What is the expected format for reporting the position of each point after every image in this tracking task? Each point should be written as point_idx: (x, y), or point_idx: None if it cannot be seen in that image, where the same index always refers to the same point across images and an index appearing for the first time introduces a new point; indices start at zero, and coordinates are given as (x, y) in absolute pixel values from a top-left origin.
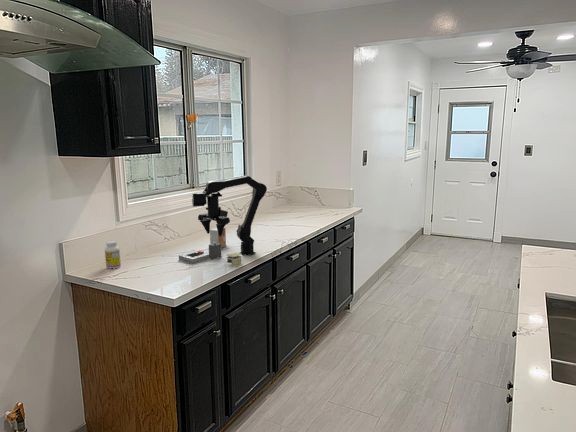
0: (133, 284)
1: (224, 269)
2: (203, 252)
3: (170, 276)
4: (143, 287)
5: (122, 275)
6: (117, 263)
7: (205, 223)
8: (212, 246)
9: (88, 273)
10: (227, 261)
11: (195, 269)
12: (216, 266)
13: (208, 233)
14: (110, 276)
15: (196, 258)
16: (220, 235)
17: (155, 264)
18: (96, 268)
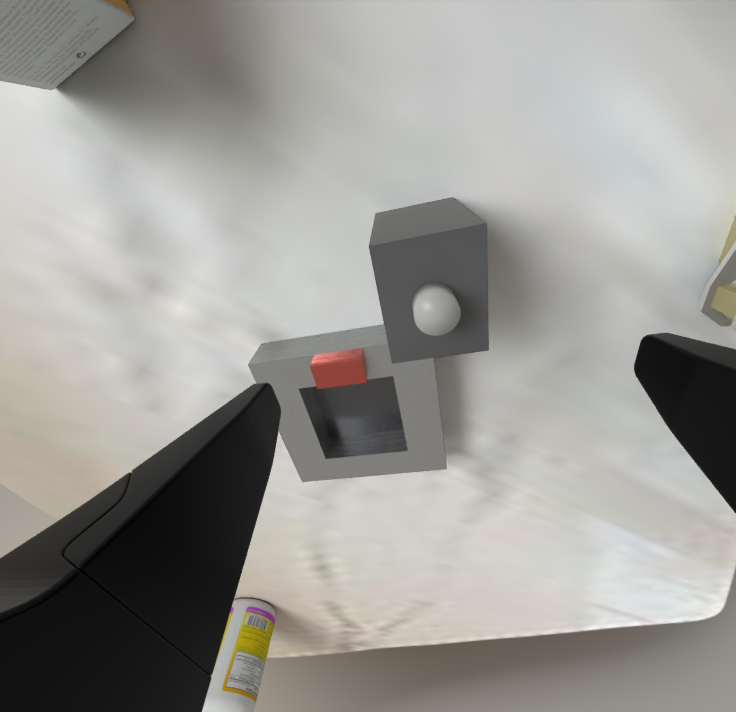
0: (480, 626)
1: None
2: (362, 358)
3: (517, 559)
4: (533, 623)
5: (365, 617)
6: (269, 629)
7: (162, 709)
8: (460, 347)
9: (278, 644)
10: (732, 321)
11: (539, 472)
12: (621, 372)
13: (277, 402)
14: (349, 631)
15: (443, 442)
16: (671, 363)
17: (310, 537)
18: None
